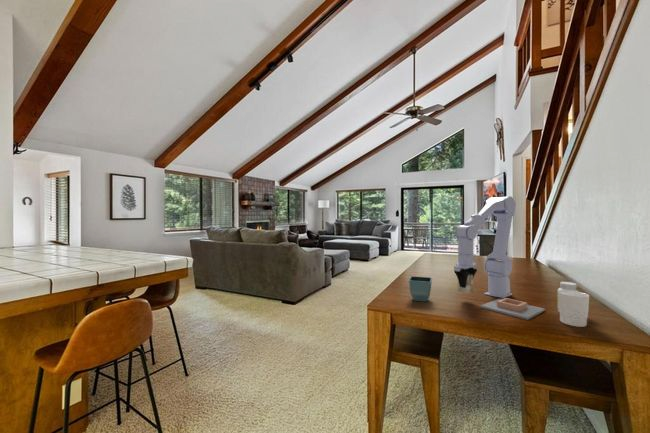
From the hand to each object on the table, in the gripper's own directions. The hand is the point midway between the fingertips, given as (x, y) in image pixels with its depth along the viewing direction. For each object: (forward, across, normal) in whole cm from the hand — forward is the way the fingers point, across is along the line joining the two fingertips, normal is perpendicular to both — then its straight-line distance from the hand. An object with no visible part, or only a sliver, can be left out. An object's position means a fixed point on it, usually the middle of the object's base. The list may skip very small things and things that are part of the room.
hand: (465, 286), depth 121 cm
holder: (+6, -4, +16) cm, 18 cm away
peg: (+2, 0, 0) cm, 2 cm away
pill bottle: (+6, -16, +30) cm, 35 cm away
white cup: (+6, -5, +34) cm, 35 cm away
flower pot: (+6, +14, -12) cm, 20 cm away
